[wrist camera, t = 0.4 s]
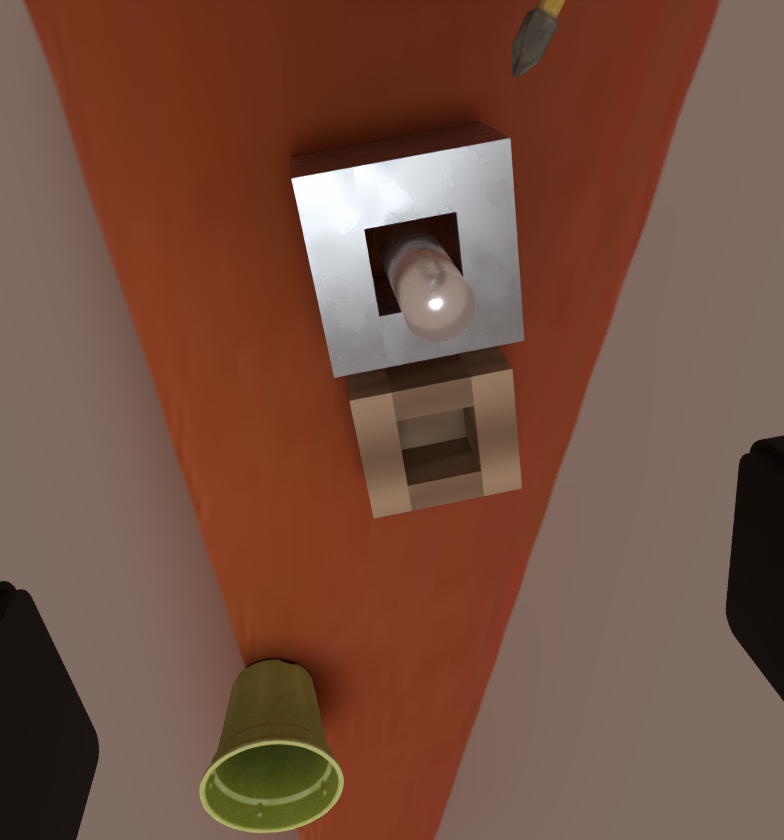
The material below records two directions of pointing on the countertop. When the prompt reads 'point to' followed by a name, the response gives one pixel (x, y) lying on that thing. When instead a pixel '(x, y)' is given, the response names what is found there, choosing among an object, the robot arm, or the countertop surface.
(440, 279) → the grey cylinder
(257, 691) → the plant pot
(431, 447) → the frame
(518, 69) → the cordless drill
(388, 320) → the socket block
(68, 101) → the countertop surface
